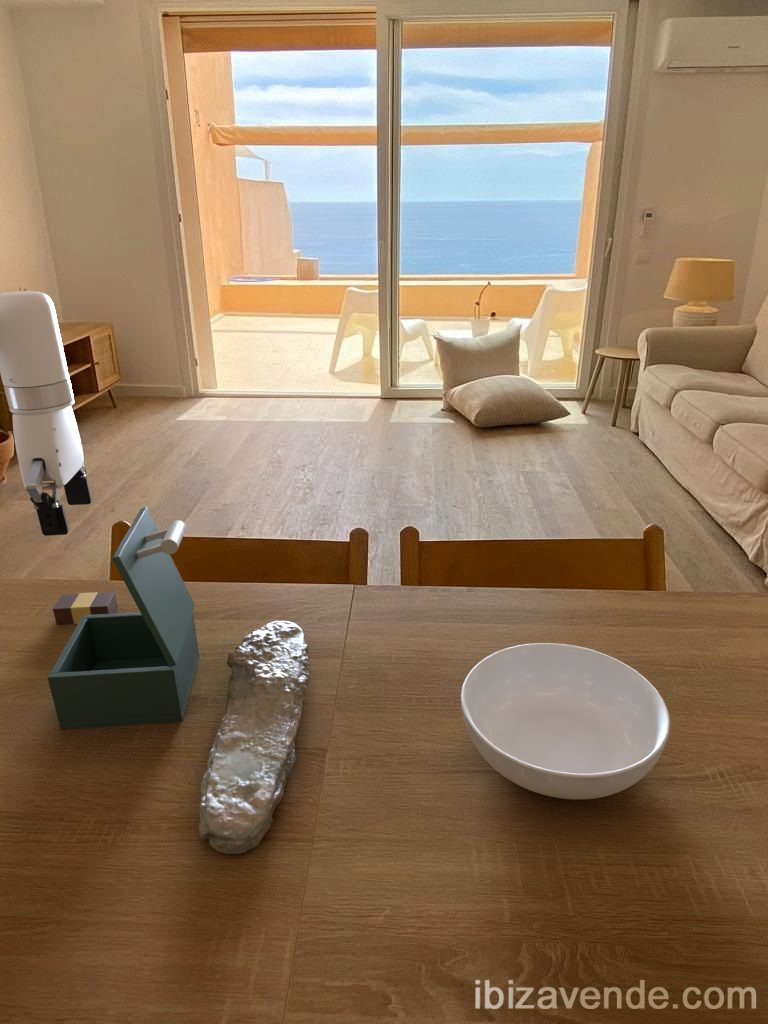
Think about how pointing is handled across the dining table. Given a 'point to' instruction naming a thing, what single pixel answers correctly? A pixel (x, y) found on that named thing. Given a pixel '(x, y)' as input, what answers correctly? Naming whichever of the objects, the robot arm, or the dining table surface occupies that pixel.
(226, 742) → the foil wrapped baguette
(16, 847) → the dining table surface
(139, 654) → the green bin
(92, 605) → the chocolate bar
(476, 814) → the dining table surface
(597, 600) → the dining table surface
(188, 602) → the bin lid
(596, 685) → the serving bowl
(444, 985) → the dining table surface
